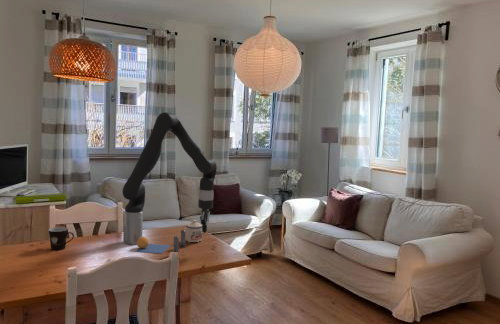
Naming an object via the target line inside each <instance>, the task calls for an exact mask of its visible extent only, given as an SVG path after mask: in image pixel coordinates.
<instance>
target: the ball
mask: <svg viewBox="0 0 500 324" xmlns="http://www.w3.org/2000/svg"><path fill="white" fill-rule="evenodd" d="M148 244H150V240H149V239H148V238H147V237H146V236H142V237H140V238H139V239H138V240H137V244H136V245H137V247H138V249H139V248H146V247H147V246H148Z"/></svg>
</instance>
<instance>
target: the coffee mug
mask: <svg viewBox="0 0 500 324" xmlns="http://www.w3.org/2000/svg"><path fill="white" fill-rule="evenodd" d="M68 234H69V235H70V234H71V235H72V238H70V240H68V241H67V237H68ZM48 236H49V237H48V238H49V243H50V250H51V251H54V252H57V251H64V250H65V249H66V244H68V243H70V242H71V241H73V239H74V238H75V235H74V233H73V232H71V231H69V232H68V227H63V226H60V227H59V226H57V227H51V228H49V229H48Z"/></svg>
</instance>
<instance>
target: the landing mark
mask: <svg viewBox="0 0 500 324" xmlns="http://www.w3.org/2000/svg"><path fill="white" fill-rule="evenodd" d="M170 247H171V245H170V244H156V243H149V244H148V246H147V247H146V248H139V247H138V248H137V249H136V250H135V251H134V252H136V253H149V254H160V255H161V254H162V255H163V253H165V251H166V250H168V249H169V248H170Z"/></svg>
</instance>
